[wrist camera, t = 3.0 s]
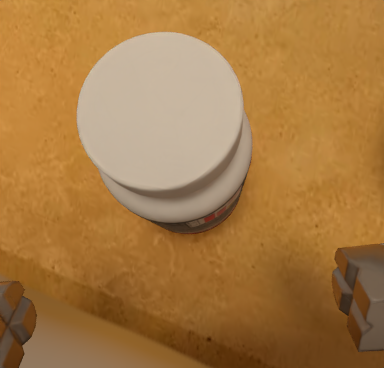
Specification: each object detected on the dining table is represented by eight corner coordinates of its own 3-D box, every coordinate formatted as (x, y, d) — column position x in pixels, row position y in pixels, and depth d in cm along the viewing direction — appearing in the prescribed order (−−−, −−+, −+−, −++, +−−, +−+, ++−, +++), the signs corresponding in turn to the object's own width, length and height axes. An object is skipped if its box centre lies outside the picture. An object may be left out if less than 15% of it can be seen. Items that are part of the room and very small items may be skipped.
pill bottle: (262, 188, 18) (311, 118, 9) (182, 256, 18) (141, 261, 8) (195, 115, 20) (173, -20, 10) (119, 177, 19) (18, 99, 10)
